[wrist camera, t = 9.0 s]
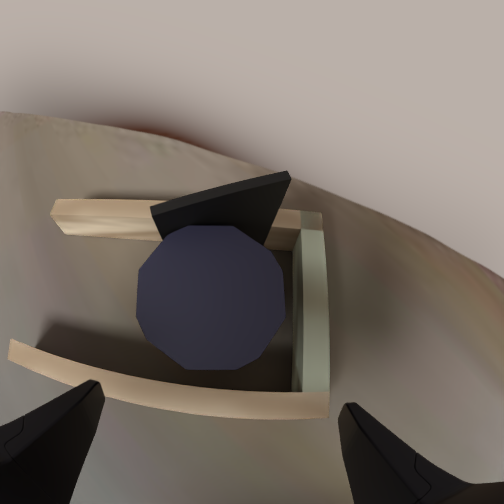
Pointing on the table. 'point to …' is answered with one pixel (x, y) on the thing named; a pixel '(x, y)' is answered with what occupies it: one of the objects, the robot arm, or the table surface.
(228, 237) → the dark cylinder with backplate
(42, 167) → the table surface
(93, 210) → the channel
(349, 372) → the table surface
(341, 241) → the table surface
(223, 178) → the table surface
